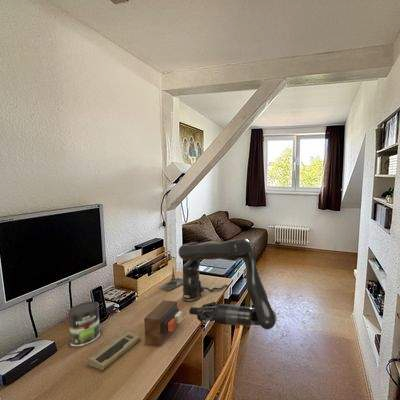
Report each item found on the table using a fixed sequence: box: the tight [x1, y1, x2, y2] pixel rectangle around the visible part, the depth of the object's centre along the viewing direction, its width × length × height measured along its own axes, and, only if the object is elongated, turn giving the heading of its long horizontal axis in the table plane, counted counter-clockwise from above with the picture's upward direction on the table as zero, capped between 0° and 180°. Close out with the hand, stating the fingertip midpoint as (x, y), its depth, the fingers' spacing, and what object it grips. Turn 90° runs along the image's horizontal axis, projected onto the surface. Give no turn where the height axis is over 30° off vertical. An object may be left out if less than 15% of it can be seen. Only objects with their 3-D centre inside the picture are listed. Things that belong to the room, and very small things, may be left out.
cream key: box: [174, 310, 184, 324], centre depth 101 cm, size 2×4×4 cm, turn 173°
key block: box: [143, 299, 180, 347], centre depth 99 cm, size 9×14×12 cm, turn 173°
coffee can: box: [67, 301, 101, 347], centre depth 96 cm, size 10×10×14 cm
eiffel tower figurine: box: [158, 266, 183, 291], centre depth 146 cm, size 15×10×13 cm
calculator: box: [90, 300, 126, 316], centre depth 120 cm, size 11×4×15 cm
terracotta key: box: [168, 318, 178, 333], centre depth 96 cm, size 2×4×4 cm, turn 173°
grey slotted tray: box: [87, 331, 140, 371], centre depth 89 cm, size 16×8×3 cm, turn 163°
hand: (190, 310), depth 94 cm, fingers closed
